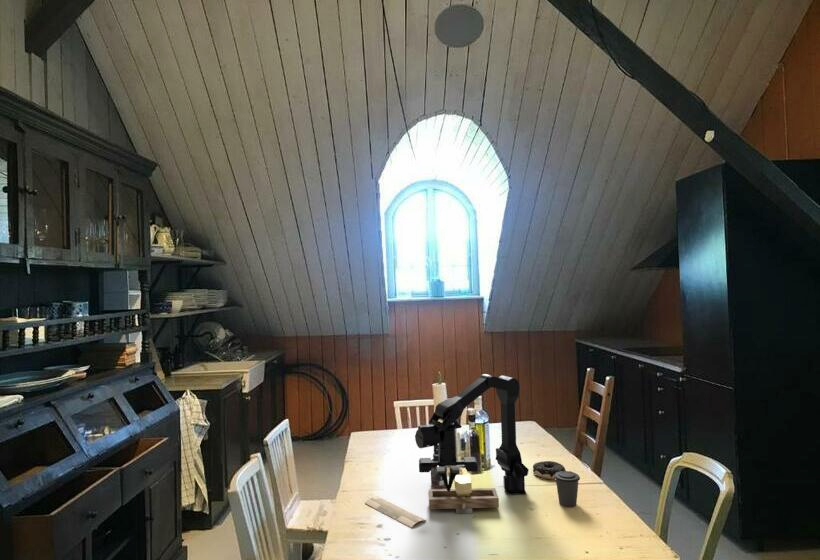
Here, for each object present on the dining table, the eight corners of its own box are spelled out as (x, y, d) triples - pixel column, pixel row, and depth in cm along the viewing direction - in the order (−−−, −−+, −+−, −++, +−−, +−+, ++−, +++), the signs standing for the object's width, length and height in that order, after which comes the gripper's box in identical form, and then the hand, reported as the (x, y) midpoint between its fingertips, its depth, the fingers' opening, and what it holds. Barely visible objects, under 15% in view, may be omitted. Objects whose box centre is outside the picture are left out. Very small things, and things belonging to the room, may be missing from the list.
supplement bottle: (446, 489, 179) (445, 457, 179) (429, 488, 180) (428, 456, 180) (448, 482, 184) (447, 451, 184) (432, 481, 186) (431, 450, 186)
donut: (559, 483, 181) (559, 472, 181) (528, 476, 188) (527, 466, 188) (568, 472, 191) (568, 462, 191) (538, 467, 197) (538, 456, 197)
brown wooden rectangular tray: (495, 500, 168) (494, 486, 168) (499, 513, 159) (498, 498, 159) (428, 502, 169) (428, 488, 169) (429, 514, 160) (429, 500, 160)
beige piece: (426, 523, 155) (426, 517, 155) (409, 532, 151) (408, 526, 151) (379, 500, 173) (378, 494, 173) (362, 506, 168) (362, 501, 168)
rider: (469, 493, 167) (469, 475, 167) (472, 502, 161) (471, 483, 161) (454, 493, 167) (454, 475, 167) (456, 502, 161) (455, 483, 161)
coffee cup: (581, 500, 167) (580, 469, 167) (580, 511, 159) (579, 479, 159) (555, 497, 170) (554, 467, 169) (554, 508, 162) (553, 476, 162)
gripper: (473, 434, 172) (474, 480, 172) (418, 435, 172) (419, 481, 172) (477, 445, 161) (478, 494, 161) (418, 446, 161) (419, 495, 161)
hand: (448, 490), depth 164 cm, fingers closed
